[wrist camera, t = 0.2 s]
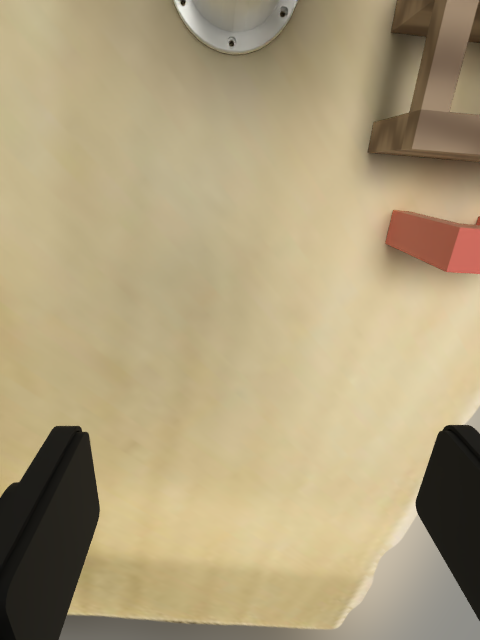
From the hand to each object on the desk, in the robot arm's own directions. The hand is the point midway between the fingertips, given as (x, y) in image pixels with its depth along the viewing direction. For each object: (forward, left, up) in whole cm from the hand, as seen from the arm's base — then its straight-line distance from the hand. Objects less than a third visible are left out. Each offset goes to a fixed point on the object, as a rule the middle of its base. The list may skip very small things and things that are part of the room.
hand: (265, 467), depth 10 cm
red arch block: (-2, +26, -36) cm, 45 cm away
